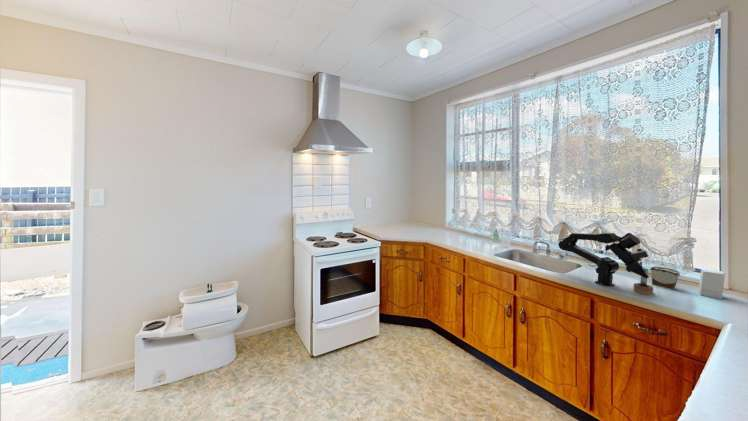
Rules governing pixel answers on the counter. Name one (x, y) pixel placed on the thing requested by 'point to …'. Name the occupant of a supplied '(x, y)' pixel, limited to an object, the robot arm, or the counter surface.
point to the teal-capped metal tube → (644, 280)
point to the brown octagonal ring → (643, 289)
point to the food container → (664, 277)
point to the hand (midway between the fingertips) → (647, 277)
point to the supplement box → (711, 283)
